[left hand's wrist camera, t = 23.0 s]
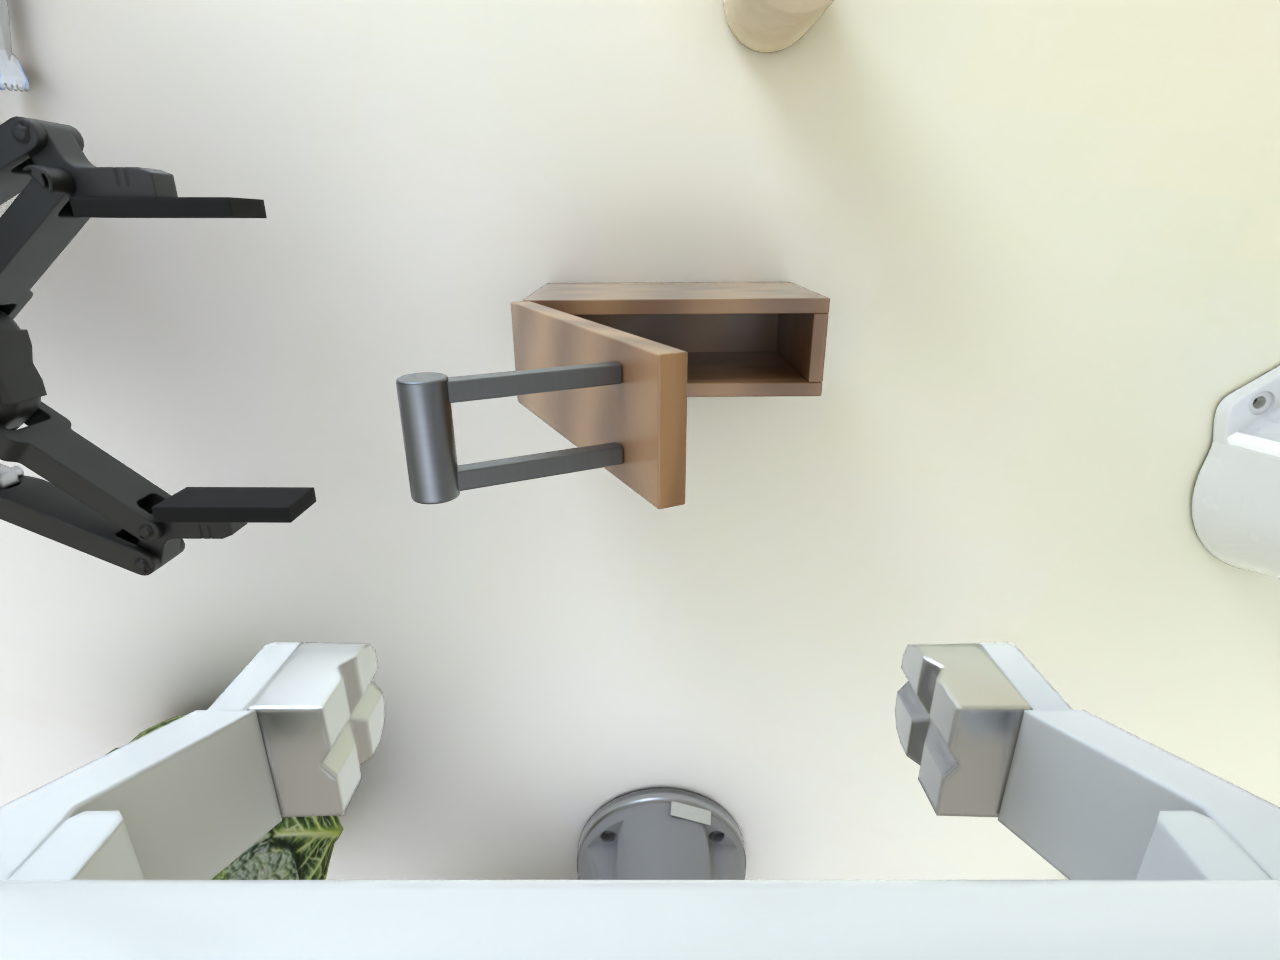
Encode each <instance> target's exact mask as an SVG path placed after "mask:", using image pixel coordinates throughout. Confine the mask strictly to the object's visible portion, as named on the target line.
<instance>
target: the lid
mask: <svg viewBox="0 0 1280 960" xmlns="http://www.w3.org/2000/svg"><path fill="white" fill-rule="evenodd" d="M511 311H512V325H513V339H514V353H515V368H516V371H510V372H500V373H490V374H479V375H469V376H459V377H449V378H448V377H447V376H446V375H444V374H441V373H415V374H408V375H404V376H401V377H399V378H398V379H397V380H396V385H397V393H398V400H399V408H400V415H401V423H402V430H403V437H404V445H405V452H406V460H407V467H408V475H409V482H410V490H411V497H412V499H413V500H414V501H415V502H417V503H421V504H439V503H444V502H448V501H451V500H453V499H455V498H457V497H458V496H459V494H460V491H462V490H468V489H474V488H480V487H487V486H493V485H499V484H505V483H511V482H517V481H523V480H529V479H535V478H541V477H547V476H553V475H559V474H565V473H571V472H577V471H583V470H589V469H595V468H601V467H604V468H605V469H607V470H608V471H609V472H611V473H612V474H613V475H615V476H616V477H617V478H618V479H620V480H621V481H622V482H624V483H625V484H626V485H628V486H629V487H630V488H632V489H633V490H634V491H635V492H637V493H638V494H639V495H641V496H642V497H643V498H645V499H646V500H647V501H648V502H650V503H651V504H652V505H654V506H655V507H656V508H658V509H663V508H668V507H673V506H678V505H683V504H685V473H686V419H687V365H688V353H687V352H686V351H683V350H679V349H676V348H673V347H670V346H667V345H664V344H661V343H658V342H655V341H652V340H648V339H645V338H642V337H639V336H636V335H633V334H630V333H627V332H624V331H621V330H617V329H614V328H611V327H608V326H605V325H602V324H599V323H596V322H593V321H590V320H586V319H583V318H580V317H577V316H574V315H571V314H568V313H565V312H562V311H559V310H555V309H552V308H549V307H546V306H543V305H540V304H537V303H534V302H531V301H522V302H511ZM508 396H518V402H519V403H521V404H522V405H523V406H525V407H526V408H527V409H529V410H530V411H531V412H532V413H534V414H535V415H536V416H538V417H539V418H540V419H542V420H543V421H544V422H545V423H547V424H548V425H549V426H551V427H552V428H553V429H555V430H556V431H557V432H559V433H560V434H561V435H562V436H564V437H565V438H566V439H568V440H569V441H570V442H572V443H573V444H574V445H575V446H577V447H578V448H572V449H565V450H559V451H552V452H546V453H539V454H532V455H526V456H519V457H512V458H506V459H499V460H492V461H486V462H479V463H472V464H466V465H459V466H457V457H456V447H455V438H454V429H453V419H452V410H451V403H455V402H464V401H473V400H481V399H490V398H499V397H508Z"/></svg>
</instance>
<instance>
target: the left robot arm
mask: <svg viewBox="0 0 1280 960" xmlns="http://www.w3.org/2000/svg"><path fill="white" fill-rule="evenodd" d="M1256 398H1257V401H1256V402H1255V403H1254V404H1253V402H1254V400H1255V399H1256ZM1192 518H1193V523H1194V527H1195V530H1196V533H1197V535H1198V537H1199V539H1200V541H1201V542H1202V544H1203V545H1204V547H1205V548H1206V549H1207V550H1208V551H1209V552H1210V553H1211V554H1212V555H1213V556H1215V557H1216V558H1217V559H1219V560H1221V561H1222V562H1224V563H1226V564H1228V565H1231V566H1234V567H1237V568H1240V569H1245V570H1250V571H1255V572H1259V573H1262V574H1266V575H1269V576H1272V577H1276V578H1279V579H1280V366H1278V367H1276V368H1274V369H1273V370H1271V371H1269V372H1267V373H1266V374H1264V375H1262V376H1260V377H1259V378H1257V379H1255V380H1253V381H1252V382H1250V383H1248V384H1246V385H1245V386H1243V387H1241V388H1239V389H1238V390H1236V391H1234V392H1232V393H1231V394H1229V395H1228V396H1226V397H1225V398H1224V399H1223V400H1222V401H1221V402H1220V403H1219V405H1218V407H1217V410H1216V413H1215V418H1214V428H1213V443H1212V446H1211V449H1210V451H1209V453H1208V455H1207V457H1206V459H1205V462H1204V464H1203V466H1202V468H1201V470H1200V472H1199V475H1198V477H1197V480H1196V483H1195V487H1194V491H1193V497H1192ZM378 668H379V666H378V661H377V656H376V651H375V649H374V648H373V647H372V646H371V645H370V644H355V643H307V642H306V643H302V642H274V643H270V644H267V645H265V646H264V647H263V648H262V649H261V650H260V651H259V652H258V653H257V655H256V656H255V657H254V658H253V659H252V660H251V661H250V662H249V664H248V665H247V666H246V667H245V668H244V669H243V670H242V671H241V672H240V674H239V675H238V676H237V677H236V678H235V679H234V680H233V681H232V683H231V684H230V685H229V686H228V687H227V688H226V689H225V690H224V692H223V693H222V694H221V695H220V696H219V697H218V698H217V699H216V700H215V702H214V703H213V704H212V705H211V706H210V707H209V708H208V709H207V710H195V711H193V712H191V713H189V714H187V715H185V716H183V717H181V718H179V719H177V720H175V721H173V722H171V723H169V724H167V725H165V726H163V727H161V728H159V729H157V730H155V731H153V732H151V733H149V734H147V735H145V736H143V737H141V738H139V739H137V740H135V741H133V742H131V743H129V744H127V745H125V746H123V747H121V748H119V749H117V750H115V751H113V752H111V753H109V754H107V755H105V756H103V757H101V758H99V759H96V760H94V761H92V762H90V763H88V764H86V765H84V766H82V767H80V768H78V769H76V770H74V771H72V772H70V773H68V774H66V775H64V776H62V777H60V778H58V779H56V780H54V781H52V782H50V783H48V784H46V785H44V786H42V787H40V788H38V789H36V790H34V791H32V792H30V793H28V794H26V795H24V796H22V797H20V798H18V799H16V800H14V801H12V802H10V803H8V804H6V805H4V806H2V807H0V960H1280V807H1278V806H1276V805H1274V804H1272V803H1270V802H1268V801H1266V800H1264V799H1262V798H1260V797H1258V796H1256V795H1254V794H1252V793H1250V792H1248V791H1246V790H1244V789H1242V788H1240V787H1238V786H1236V785H1234V784H1232V783H1230V782H1228V781H1226V780H1223V779H1221V778H1219V777H1217V776H1215V775H1213V774H1211V773H1209V772H1207V771H1205V770H1203V769H1201V768H1199V767H1197V766H1195V765H1193V764H1191V763H1189V762H1187V761H1185V760H1183V759H1181V758H1179V757H1177V756H1175V755H1173V754H1171V753H1169V752H1167V751H1165V750H1163V749H1161V748H1159V747H1157V746H1155V745H1153V744H1151V743H1149V742H1147V741H1145V740H1143V739H1141V738H1139V737H1137V736H1135V735H1133V734H1131V733H1129V732H1127V731H1125V730H1123V729H1121V728H1119V727H1117V726H1115V725H1113V724H1111V723H1109V722H1107V721H1105V720H1103V719H1101V718H1099V717H1097V716H1095V715H1093V714H1091V713H1089V712H1087V711H1085V710H1073V709H1072V708H1071V707H1070V706H1069V705H1068V704H1067V703H1066V702H1065V700H1064V699H1063V698H1062V697H1061V696H1060V695H1059V694H1058V693H1057V692H1056V690H1055V689H1054V688H1053V687H1052V686H1051V685H1050V684H1049V683H1048V681H1047V680H1046V679H1045V678H1044V677H1043V676H1042V675H1041V674H1040V672H1039V671H1038V670H1037V669H1036V668H1035V667H1034V666H1033V665H1032V664H1031V662H1030V661H1029V660H1028V659H1027V658H1026V657H1025V656H1024V655H1023V653H1022V652H1021V651H1020V650H1019V649H1018V648H1017V647H1016V646H1015V645H1013V644H1011V643H1009V642H989V643H974V644H922V645H908V646H907V648H906V650H905V652H904V655H903V660H902V666H901V668H902V670H903V672H904V674H905V675H906V677H907V679H908V682H907V683H906V684H905V685H904V686H903V687H902V688H901V689H900V690H899V691H898V692H897V699H896V707H895V716H896V727H897V732H898V736H899V739H900V743H901V745H902V747H903V749H904V751H905V753H906V755H907V756H908V757H909V758H911V759H912V760H913V761H915V762H916V763H918V764H919V765H920V771H919V777H918V779H919V781H920V783H921V785H922V787H923V789H924V791H925V793H926V795H927V797H928V799H929V801H930V803H931V805H932V807H933V809H934V811H935V813H936V815H940V816H975V817H998V821H1000V822H1001V823H1002V824H1003V825H1004V826H1006V827H1007V828H1008V829H1009V830H1010V831H1012V832H1013V833H1014V834H1015V835H1016V836H1018V837H1019V838H1020V839H1021V840H1022V841H1024V842H1025V843H1026V844H1027V845H1028V846H1030V847H1031V848H1032V849H1033V850H1034V851H1036V852H1037V853H1038V854H1039V855H1040V856H1041V857H1043V858H1044V859H1045V860H1046V861H1047V862H1049V863H1050V864H1051V865H1052V866H1053V867H1055V868H1056V869H1057V870H1058V871H1059V872H1061V873H1062V874H1063V875H1064V876H1065V877H1067V878H1068V879H1069V880H211V879H212V878H214V877H215V876H216V875H217V874H218V873H220V872H221V871H222V870H223V869H224V868H226V867H227V866H228V865H229V864H230V863H232V862H233V861H234V860H235V859H236V858H238V857H239V856H240V855H241V854H242V853H244V852H245V851H246V850H247V849H248V848H250V847H251V846H252V845H253V844H254V843H256V842H257V841H258V840H259V839H260V838H262V837H263V836H264V835H265V834H266V833H268V832H269V831H270V830H271V829H272V828H274V827H275V826H276V825H277V824H278V823H280V822H281V821H282V817H304V816H338V815H344V813H345V811H346V809H347V807H348V805H349V803H350V801H351V799H352V797H353V795H354V793H355V791H356V789H357V787H358V785H359V783H360V781H361V779H362V777H361V771H360V765H361V764H362V763H364V762H365V761H367V760H368V759H369V758H371V757H372V756H373V755H374V753H375V751H376V749H377V747H378V745H379V743H380V740H381V735H382V731H383V726H384V721H385V705H384V698H383V692H382V691H381V690H380V689H379V688H378V687H377V686H376V685H375V684H374V683H373V682H372V679H373V677H374V675H375V674H376V672H377V670H378Z"/></svg>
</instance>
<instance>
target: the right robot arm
mask: <svg viewBox="0 0 1280 960" xmlns="http://www.w3.org/2000/svg"><path fill="white" fill-rule="evenodd" d="M83 147H84V142H83V138H82V136H81V134H80V133H79V132H78V131H77V130H76V129H75V128H73V127H72V126H69V125H63V124H58V123H53V122H47V121H41V120H36V119H30V118H23V117H13V118H11V119H9V120H8V121H6V122H5V123H3V124H2V125H0V205H1V204H3V203H4V202H6V201H8V200H9V199H11V198H12V197H14V196H15V195H17V194H18V193H20V192H21V193H20V194H19V195H18V196H17V198H16V199H15V200H14V202H13V203H12V204H11V205H10V207H9V208H8V209H7V210H6V212H5V213H4V214H3V215H2V217H1V218H0V459H1V460H4V461H9V462H18V463H21V464H23V465H24V466H26V467H27V468H29V469H30V470H32V471H34V472H35V473H37V474H38V475H40V476H41V477H43V478H45V479H46V480H48V481H49V482H48V481H45V480H42V479H38V478H35V477H30V476H23V475H24V472H23V470H22V469H21V468H20V467H18V466H14V467H11V468H10V467H8V466H5V465H2V464H0V519H2V520H5V521H7V522H10V523H12V524H15V525H17V526H20V527H22V528H25V529H27V530H30V531H32V532H35V533H37V534H40V535H42V536H45V537H47V538H50V539H52V540H55V541H57V542H60V543H62V544H65V545H67V546H70V547H72V548H75V549H77V550H80V551H82V552H85V553H87V554H90V555H92V556H95V557H97V558H100V559H102V560H105V561H107V562H110V563H112V564H115V565H117V566H120V567H122V568H125V569H127V570H130V571H132V572H135V573H137V574H140V575H149V574H151V573H153V572H154V571H155V570H157V569H158V568H160V567H161V566H163V565H164V564H165V563H167V562H168V561H170V560H171V559H173V558H174V557H175V556H177V555H178V554H180V553H181V552H182V551H183V550H184V548H185V543H184V541H183V539H182V538H199V539H202V538H204V539H210V538H212V539H223V538H225V537H228V536H231V535H233V534H234V533H235V532H237V531H238V530H239V529H241V528H242V527H243V526H245V525H246V524H247V522H292V521H293V520H294V519H296V518H297V517H298V516H299V515H300V514H302V513H303V512H304V511H305V510H306V509H308V508H309V507H310V506H311V505H312V504H314V503H315V502H316V497H315V491H314V488H279V487H186V488H185V489H183V490H181V491H179V492H178V493H176V494H174V495H172V496H171V495H169V494H168V493H166V492H165V491H163V490H162V489H160V488H159V487H157V486H156V485H154V484H153V483H151V482H150V481H148V480H147V479H145V478H144V477H142V476H141V475H139V474H138V473H136V472H135V471H133V470H132V469H130V468H129V467H127V466H126V465H124V464H123V463H121V462H120V461H118V460H117V459H115V458H113V457H112V456H110V455H109V454H107V453H106V452H104V451H103V450H101V449H100V448H98V447H97V446H95V445H94V444H92V443H91V442H89V441H88V440H86V439H85V438H83V437H82V436H80V435H79V434H77V433H76V432H74V431H73V430H72V429H71V422H70V421H69V420H68V419H67V418H65V417H64V416H62V415H61V414H59V413H58V412H56V411H55V410H53V409H52V408H50V407H49V406H47V405H46V404H44V403H43V402H41V396H44V395H47V394H46V390H45V387H44V384H43V380H42V378H41V376H40V375H39V373H38V371H37V369H36V368H35V366H34V364H33V358H32V344H31V341H30V338H29V334H28V331H27V330H20V328H19V326H18V325H17V324H16V323H15V321H14V320H13V319H14V318H15V316H16V315H17V314H18V313H19V312H20V310H21V309H22V308H23V307H24V306H25V305H26V303H27V302H28V301H29V300H30V299H31V297H32V296H33V293H32V292H31V291H30V289H31V288H32V286H33V285H34V284H35V283H36V282H37V281H38V279H39V278H40V277H41V276H42V275H43V273H44V272H45V271H46V270H47V269H48V267H49V266H50V265H51V264H52V263H53V261H54V260H55V259H56V258H57V257H58V256H59V254H60V253H61V252H62V251H63V250H64V248H65V247H66V246H67V245H68V244H69V242H70V241H71V240H72V239H73V238H74V236H75V235H76V234H77V233H78V232H79V231H80V229H81V228H82V227H83V226H84V225H85V223H86V222H87V221H88V220H89V219H90V217H96V218H267V217H266V212H265V206H264V200H259V199H244V198H229V197H178V196H177V191H176V187H175V182H174V177H173V175H171V174H169V173H166V172H164V171H161V170H156V169H147V168H138V167H125V168H124V167H115V168H114V167H95V166H94V165H92V164H91V163H90V162H89V161H88V159H87V158H86V157H85V155H84V153H83V152H82V151H83ZM23 423H25V424H26V425H28V426H27V427H24V428H21V429H18V428H19V427H20V426H21V425H22V424H23ZM16 429H18V430H16ZM50 482H51V483H50ZM745 870H746V857H745V850H744V844H743V839H742V835H741V832H740V830H739V828H738V826H737V824H736V822H735V821H734V820H733V818H732V817H731V816H730V815H729V814H728V813H727V812H726V811H725V810H724V809H723V808H722V807H720V806H719V805H718V804H716V803H714V802H713V801H711V800H709V799H707V798H705V797H703V796H701V795H698V794H695V793H692V792H688V791H684V790H678V789H668V788H655V789H645V790H640V791H635V792H632V793H628V794H626V795H623V796H620V797H618V798H616V799H614V800H612V801H611V802H609V803H607V804H606V805H604V806H603V807H602V808H600V809H599V810H598V811H597V812H596V813H595V814H594V815H593V816H592V817H591V818H590V820H589V821H588V822H587V824H586V826H585V827H584V829H583V831H582V834H581V837H580V841H579V847H578V857H577V871H578V878H579V880H744V879H745Z"/></svg>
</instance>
